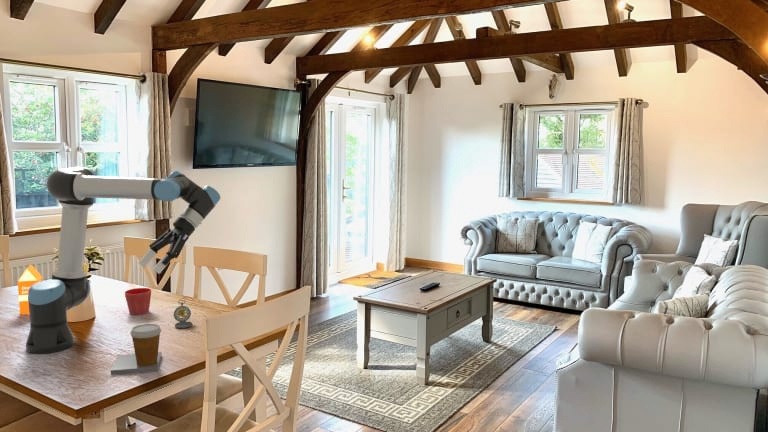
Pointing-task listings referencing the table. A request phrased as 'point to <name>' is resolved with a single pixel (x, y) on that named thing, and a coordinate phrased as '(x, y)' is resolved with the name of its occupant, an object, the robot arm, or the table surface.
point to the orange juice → (27, 287)
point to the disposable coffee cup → (146, 343)
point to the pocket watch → (181, 311)
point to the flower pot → (138, 300)
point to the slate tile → (132, 365)
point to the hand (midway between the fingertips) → (148, 268)
